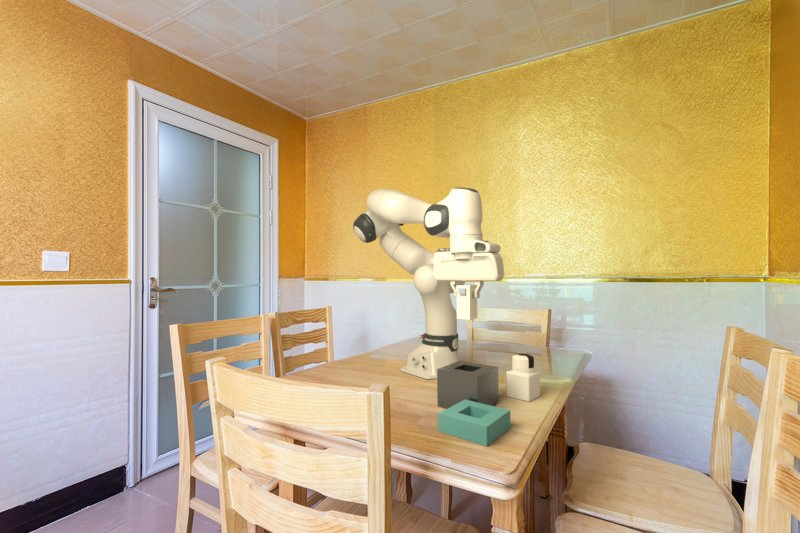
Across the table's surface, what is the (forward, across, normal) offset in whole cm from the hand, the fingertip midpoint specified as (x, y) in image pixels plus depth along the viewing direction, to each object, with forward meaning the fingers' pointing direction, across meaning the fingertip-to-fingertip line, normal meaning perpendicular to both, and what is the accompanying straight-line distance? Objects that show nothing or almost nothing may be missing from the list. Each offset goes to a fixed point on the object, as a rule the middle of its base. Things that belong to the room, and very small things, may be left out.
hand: (466, 297), depth 103 cm
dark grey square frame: (+29, 0, 0) cm, 29 cm away
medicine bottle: (+29, +9, +16) cm, 35 cm away
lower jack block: (+29, +9, -13) cm, 33 cm away
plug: (+6, 0, 0) cm, 6 cm away
